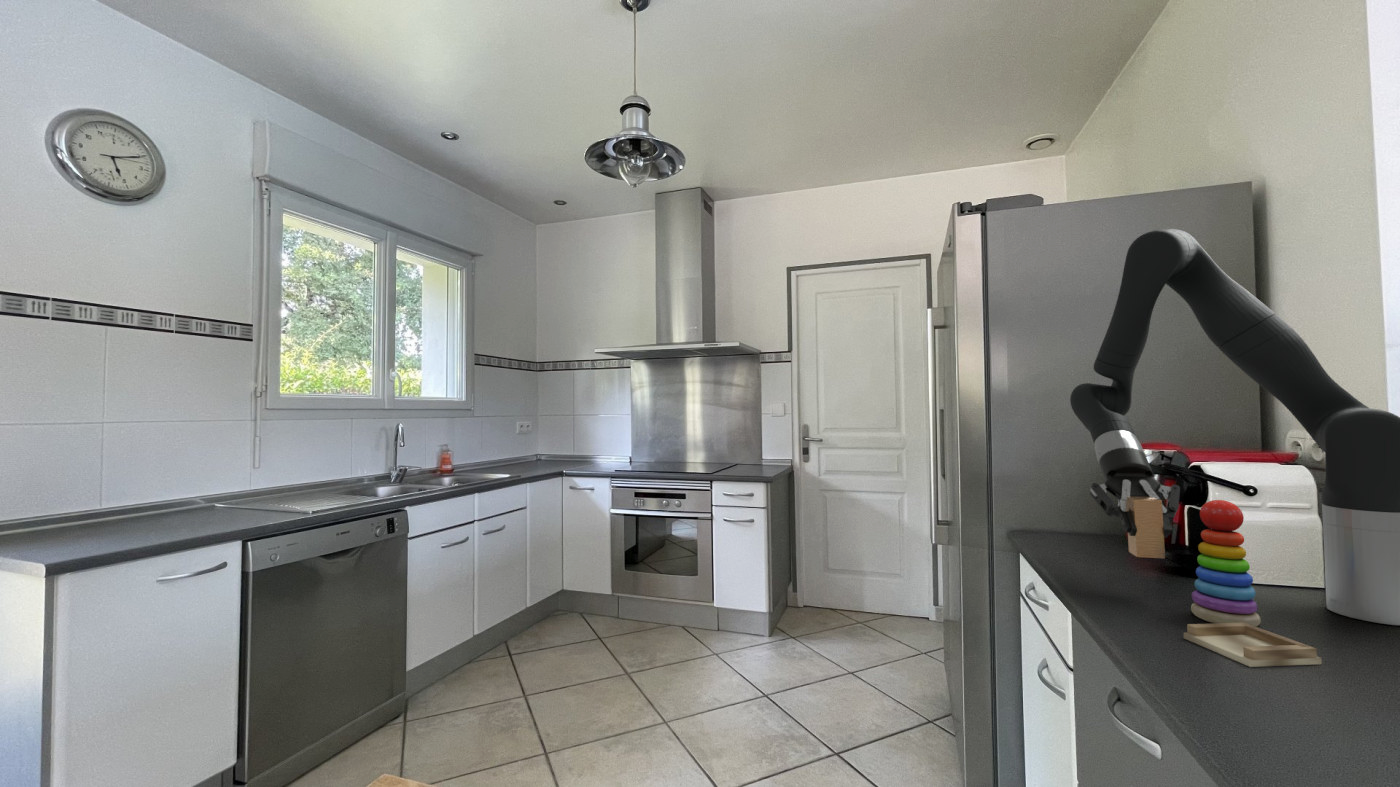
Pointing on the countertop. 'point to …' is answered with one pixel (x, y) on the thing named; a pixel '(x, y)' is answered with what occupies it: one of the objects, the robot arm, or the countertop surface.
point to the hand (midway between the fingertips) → (1149, 533)
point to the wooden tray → (1251, 645)
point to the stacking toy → (1223, 569)
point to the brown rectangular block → (1147, 527)
